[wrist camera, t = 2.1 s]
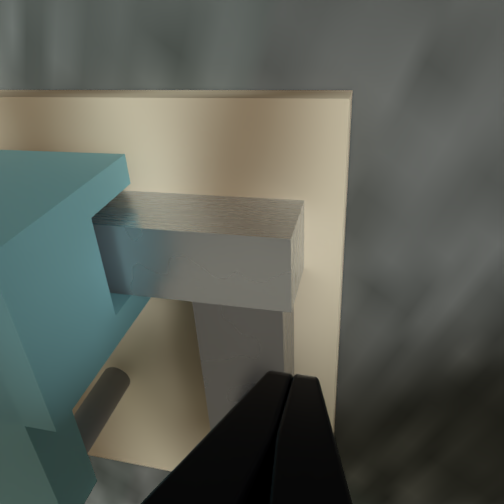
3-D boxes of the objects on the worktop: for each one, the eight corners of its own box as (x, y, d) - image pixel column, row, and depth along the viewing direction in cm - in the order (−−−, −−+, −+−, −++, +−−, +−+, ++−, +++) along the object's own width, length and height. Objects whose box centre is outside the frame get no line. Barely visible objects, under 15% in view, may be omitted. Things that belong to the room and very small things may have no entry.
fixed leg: (292, 266, 13) (263, 360, 10) (294, 416, 16) (272, 523, 13) (209, 259, 14) (157, 346, 11) (226, 405, 17) (190, 505, 14)
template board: (352, 90, 11) (350, 99, 10) (331, 483, 19) (329, 503, 18) (-245, 89, 16) (-274, 95, 15) (-65, 408, 23) (-79, 423, 23)
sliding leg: (124, 154, 12) (-13, 256, 8) (172, 396, 17) (99, 542, 12) (-9, 149, 13) (-194, 239, 9) (70, 380, 18) (-30, 511, 13)
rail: (304, 200, 12) (290, 239, 10) (304, 267, 13) (291, 312, 11) (-205, 172, 16) (-274, 197, 14) (-175, 225, 17) (-236, 255, 15)
